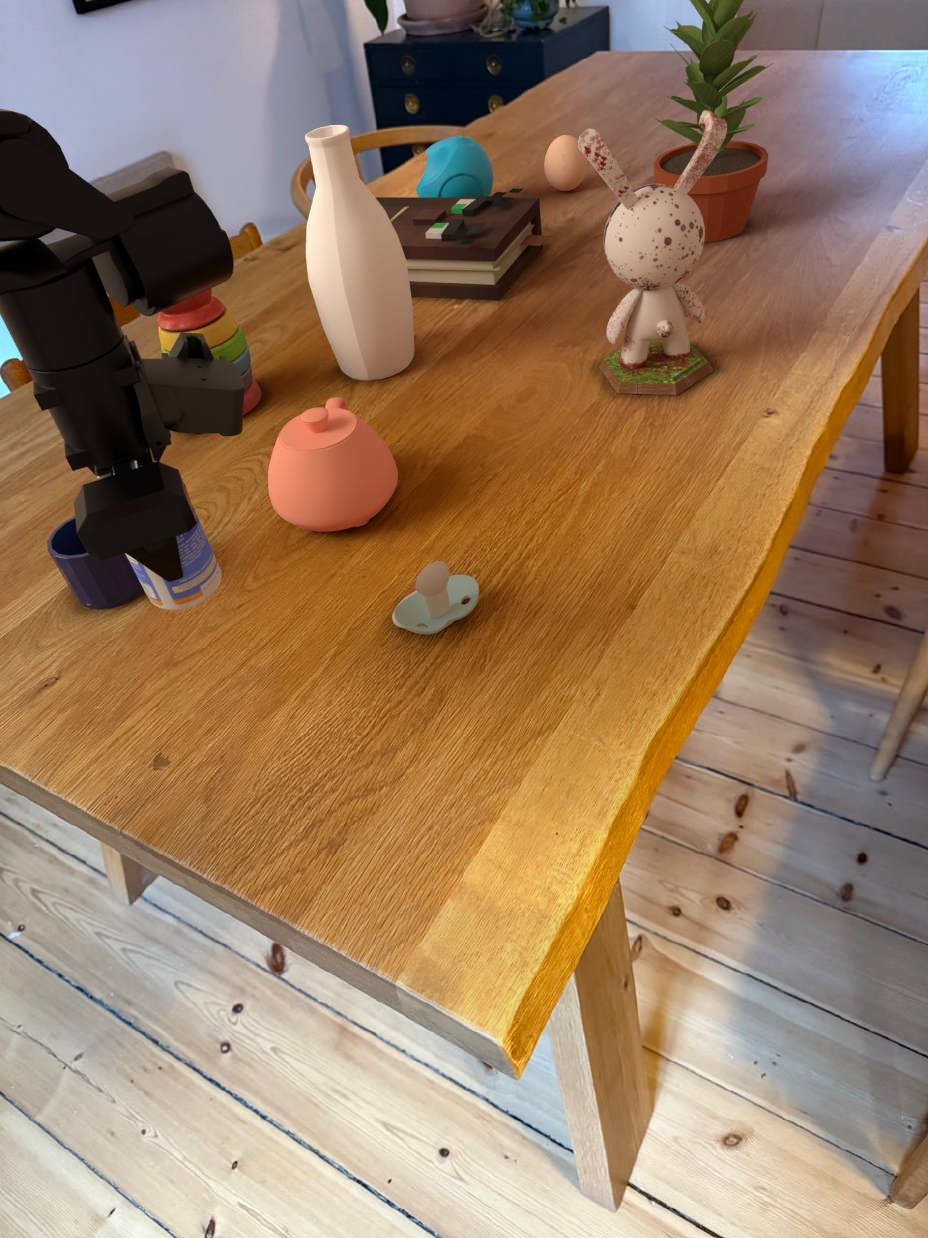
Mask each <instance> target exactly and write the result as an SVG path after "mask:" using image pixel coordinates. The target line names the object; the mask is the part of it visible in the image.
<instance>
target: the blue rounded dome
mask: <svg viewBox="0 0 928 1238" xmlns="http://www.w3.org/2000/svg"><path fill="white" fill-rule="evenodd" d="M425 154H426V157H427V159H426V163H425V167H424V171H423V174H422V175H421V177H420V179H419V181H418V182H417V185H416V188H415V192H416V195H417V197H462V198H478V197H479V196H491V193H492V191H493V185H494V172H493V166H492V163H491V160H490V158H489V156H488V154H487V152H486V151H485V149H484V147H482V146H481V144H480V143H478V141H476V140H475V139H474V138H472V137H471V136H468V135H466V136H465V137H464V136H463V135H461V134H459V135H454V136H449V137H446V138H443V139H441V140H438V141H437V142H435V143H433V144H432V145H430V146H429V147H427V149H426V150H425Z"/></svg>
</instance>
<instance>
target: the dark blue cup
mask: <svg viewBox="0 0 928 1238" xmlns="http://www.w3.org/2000/svg"><path fill="white" fill-rule="evenodd" d="M46 544H47V552H48V554H49V555H50V557H51V559H52V560H53V562H54V564H55V565H56V567H57V569H58V571H59V572H60V574H61V576H62V577H63V579H64V581H65V582H66V584H67V586H68V588H69V589H70V591H71V593H72V595H73V597H75V599H76V600H77V601H78V603H79V604H80V605H81V606H83V607H85V608H87V609H91V610H105V609H111V608H115V607H119V606H121V605H124V604H125V603H127V602H129V601H131V600H133V599H135V598H136V597H138V596H139V595H140V594H141V593H142V592H143V591H144V589H143V587H142V585H141V583H140V581H139V579H138V577H137V575H136V573H135V571H134V569H133V568H132V566H131V564H130V562H129V560H128V558H127V556H126V554H125V553H123V554H120V555H117V556H114V557H111V558H108V559H105V560H102V561H100V560H95V559H91V558H90V556H89V554H88V553H87V551H86V549H85V547H84V545H83V543H82V541H81V540H80V538H79V536H78V534H77V528H76V518H75V515H73V516H71V517H70V518H67V519H66V520H65V521H63V522H61V524H59V525H58V526H57V527H56V528H55V529H54V530H53V531H52V532H51V534H50V535H49V537H48V539H47V541H46Z"/></svg>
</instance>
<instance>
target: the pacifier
mask: <svg viewBox="0 0 928 1238" xmlns="http://www.w3.org/2000/svg"><path fill="white" fill-rule="evenodd" d="M414 587H415V590H414V591H412V592H411V593H410V594H408V595H407V596H405V597H404V598H402V600H401V601H400V602H399V603H398V604H397V605H396V606H395V608H394V609H393V612H392V615H391V617H392V622H393V624H394V625H395V626H397V627H398V628H400V629H405V630H407V631H409V632H412V633H414V634H418V635H434V634H437V633H440V632H441V631H442V630H444V629H445V628H447V627H449V626H451V625H452V624H453V623H454V622H455V621H458V620H460V619H463V618H465V617H466V616H468V615H469V614H470V613H471V612H472V611H473V610H474V609H475V608H476V606H477V604H478V601H479V599H480V587H479V584H478V581H477V580H476V579H475V578H474V577H473V576H471V575H469V574H453V575H451V576H450V569H449V566H448V565H447V564H446V563H445V562H444V561H443V560H436V561H433V562H431V563H429V564H427V565H426V566H425V567H424V568H422V570H421V571H420V573H419V574H418V575H417V577H416V580H415V583H414ZM466 599H469V601H468V602H467V603H465V604H463V602H464V600H466Z"/></svg>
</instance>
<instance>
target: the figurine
mask: <svg viewBox="0 0 928 1238" xmlns="http://www.w3.org/2000/svg"><path fill="white" fill-rule="evenodd" d="M699 126H700V127H701V128H702V129H704V130H705V132H704V134H702V135H703V137H702V139H701V142H700V144H699V146H698V148H697V150H696V152H695V153H694V155H693V157H692V159H691V160H690V162H689V164H688V165H687V167H686V168H685V170H684V172H683V173H682V175H681V176H680V178H679V180H678V181H677V183H676V185H675V186H674V187H673V186H669V185H664V184H655V183H648V184H644V185H641V186H638V187H636V188H634V189H633V187H632V185H631V184H630V182H629V180H628V178H627V176H626V175H625V173H624V171H623V169H622V168H621V166H620V164H619V162H618V161H617V159H616V157H615V156H614V154H613V153H612V151H611V150H610V148H609V147H608V145H607V144H606V141H604V139H603V137H602V136H601V134H600V133H599V132H598V130H596V129H593V128H587V129H585V130H584V131H582V133H580V135H579V136H578V139H577V140H578V146H579V150H580V151H581V153H582V154H583V155H584V156H585V157H586V158H587V162H588V163H589V164H590V165H591V166H592V167H593V168H594V170H595V171H596V172H597V173H598V175H599V176H600V178H602V180H603V182H605V184H606V185H607V186H608V187H609V189H610V190H611V191H612V193H613V194H614V196H616V198H617V199H618V200H619V201H618V202H617V203H616V204H615V206H614V207H613V209H612V210H611V212H610V214H609V216H608V218H607V221H606V224H605V227H604V230H603V248H604V249H603V250H604V253H605V257H606V260H607V262H608V265H609V267H610V269H611V270H612V272H613V273H614V274H615V275H616V277H617V278H618V279H619V280H620V281H622V282H623V283H624V284H626V285H627V286H629V287H630V288H633V289H632V290H630V291H629V292H628V293H627V294H626V295H625V296H624V297H623V299H622V300H621V301H620V302H619V304H618V305H617V307H616V308H615V309H614V310H613V312H612V315H611V316H610V318H609V320H608V322H607V326H606V330H605V331H606V333H605V335H606V338H607V341H608V342H609V343H611V344H612V345H616V344H617V340H618V339H619V338H620V336H621V335H622V334H623V333H624V337H623V342H622V347H621V348H620V349H618V350H617V351H615V352H613V353H612V354H610V355H608V356H607V357H605V358H604V359H603V360H602V361H601V363H600V364H599V366H598V369H599V370H600V371H601V372H602V374H603V375H604V377H605V378H606V380H607V381H608V383H610V386H612V388H613V389H614V391H615V392H616V394H621V395H622V394H625V395H650V396H677V397H678V395H680V394H681V393H683V392H684V391H686V390H688V389H689V388H691V387H692V386H693V385H695V384H697V382H699V381H701V380H702V379H703V378H705V377H707V376H708V375H710V374H711V373H713V372H714V369H713V367H712V365H711V364H710V362H709V361H708V360H707V358H706V357H704V355H703V354H702V353H701V352H700V351H699V350H698V349H697V348H696V347H695V346H694V344H693V343H691V341H690V337H689V332H688V327H687V324H686V320H685V319H686V318H690V316H693V318H694V320H695V321H697V323H698V324H699V325H702V324H703V323H704V321H705V317H706V313H705V311H706V310H705V307H704V305H703V301H701V299H700V297H699V296H698V295H697V294H696V293H695V292H694V290H692V289H691V288H690V287H689V286H688V285H686V284H685V283H684V282H682V281H683V280H684V278H686V277H687V276H688V275H689V274H690V273H691V272H692V271H693V270H694V268H695V266H696V265H697V263H698V261H699V260H700V257H701V255H702V252H703V249H704V244H705V242H704V238H705V228H704V222H703V218H702V215H701V212H700V210H699V208H698V206H697V205H696V203H695V202H694V201H693V199H692V198H691V197H690V196H689V195H687V193H688V192H689V191H690V189H691V188H692V187H693V186H694V184H695V183H696V182H697V180H698V179H699V178H700V177H701V175H702V174H703V173H704V171H705V170H706V169H707V167H708V166H709V165H710V163H711V162H712V160H713V159H714V157H715V156H716V154H717V152H718V151H719V149H720V147H721V145H722V143H723V141H724V139H725V136H726V133H727V123H726V120H725V119H723V118H721V117H719V116H717V115H716V114H714V113H713V112H711V111H710V110H704V111H703V112H702V114H701V117H700V120H699ZM624 331H625V332H624Z"/></svg>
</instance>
